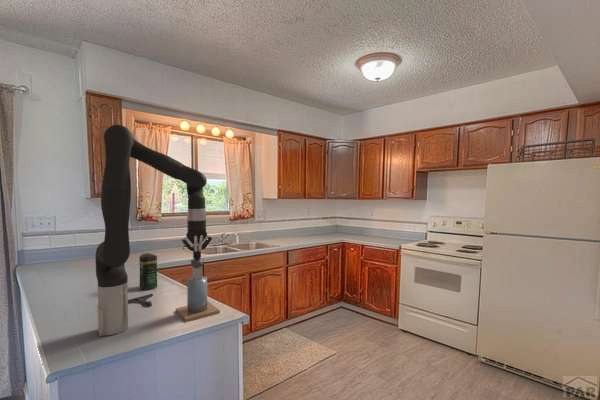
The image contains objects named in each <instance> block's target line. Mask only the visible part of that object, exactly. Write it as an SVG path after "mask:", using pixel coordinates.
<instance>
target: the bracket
mask: <svg viewBox="0 0 600 400" xmlns="http://www.w3.org/2000/svg"><path fill="white" fill-rule="evenodd" d="M153 296H154V295H153V293H149V294H146V295H141V296H138V297H133V298H131V299H128V305H129V304H140V305H143V306H146V307H148V308H150V307H152V305H153V304H152V301H151V300H150V301H147V300H148V299H150V298H153Z"/></svg>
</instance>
